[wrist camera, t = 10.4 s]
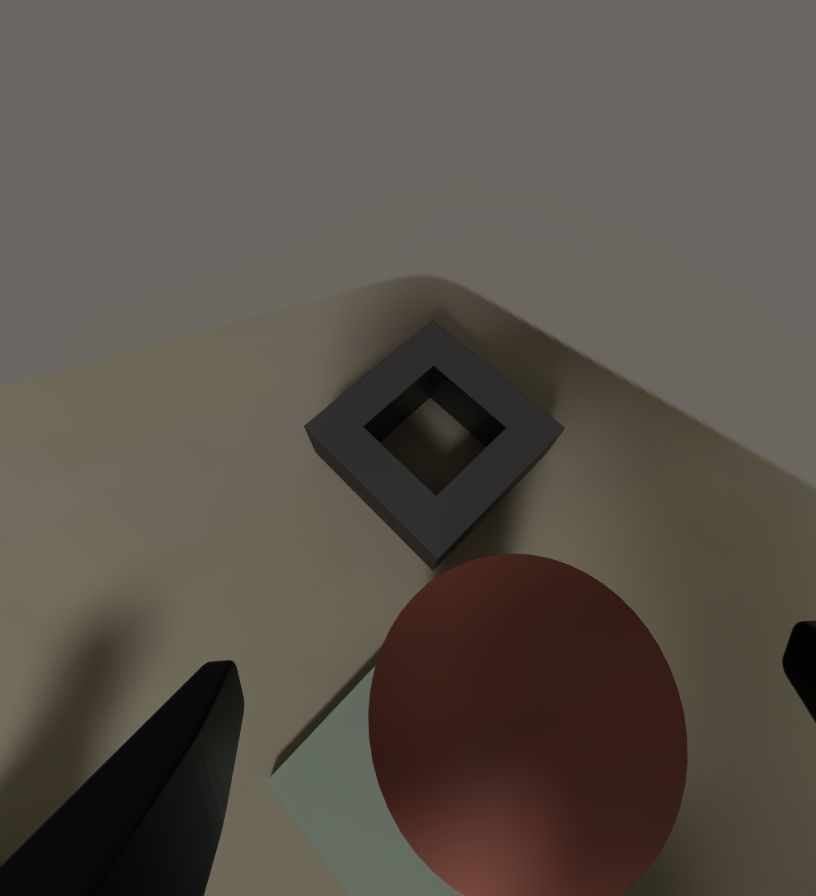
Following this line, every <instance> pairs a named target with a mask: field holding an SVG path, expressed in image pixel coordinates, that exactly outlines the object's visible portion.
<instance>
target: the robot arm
mask: <svg viewBox="0 0 816 896" xmlns="http://www.w3.org/2000/svg"><path fill="white" fill-rule="evenodd" d="M782 664H783V669H784V672H785V674H786V676H787V678H788V679H789V681H790V683H791V684H792V686H793V687H794V689H795V690H796V692H797V694H798V695H799V697H800V698H801V700H802V702H803V703H804V705H805V706H806V708H807V709H808V711H809V713H810V714H811V716H812V717H813V719H814V721H815V722H816V621H802V622H798V623H797V624H796V625H795V626H794V627H793V629H792V632H791V635H790V638H789V641H788V644H787V647H786V650H785V653H784V656H783V659H782ZM243 713H244V697H243V693H242V688H241V684H240V679H239V675H238V671H237V667H236V664H235V663H234V662H233V661H231V660H225V661H211V662H207V663H206V664H204V665H203V666H202V667H201V668H200V669H199V670H198V671H197V672H196V673H195V674H194V675H193V676H192V677H191V678H190V679H189V680H188V681H187V682H186V683H185V684H184V685H183V686H182V687H181V688H180V689H179V690H178V691H177V692H176V693H175V694H174V695H173V696H172V697H171V698H170V699H169V700H168V701H167V702H166V703H165V704H164V705H163V706H162V707H161V708H160V709H159V710H158V711H157V712H156V713H155V714H154V715H153V716H152V717H151V718H150V719H148V720H147V721H146V722H145V723H144V724H143V725H142V726H141V727H140V728H139V729H138V730H137V731H136V732H135V733H134V734H133V735H132V736H131V737H130V738H129V739H128V740H127V741H126V742H125V743H124V744H123V745H122V746H121V747H120V748H119V749H118V750H117V751H116V752H115V753H114V754H113V755H112V756H111V757H110V758H109V759H108V760H107V761H106V762H105V763H104V764H103V765H102V766H101V767H100V768H99V769H98V770H97V771H96V772H95V773H94V774H93V775H92V776H91V777H90V778H89V779H88V780H87V781H86V782H85V783H84V784H83V785H82V786H81V787H80V788H79V789H78V790H77V791H76V792H75V793H74V794H73V795H72V796H71V797H70V798H69V799H68V800H67V801H66V802H65V803H64V804H63V805H62V806H61V807H60V808H59V809H58V810H57V811H56V812H55V813H54V814H53V815H52V816H51V817H50V818H49V819H48V820H47V821H46V822H45V823H44V824H43V825H42V826H41V827H40V828H39V829H38V830H37V831H36V832H35V833H34V834H33V835H32V836H31V837H30V838H29V839H28V840H27V841H26V842H25V843H24V844H23V845H22V846H21V847H20V848H19V849H18V850H17V851H16V852H15V853H14V854H13V855H12V856H11V857H10V858H9V859H8V860H7V861H6V862H5V863H4V864H3V865H2V866H1V867H0V896H204V893H205V889H206V886H207V882H208V879H209V875H210V872H211V868H212V865H213V861H214V857H215V854H216V850H217V847H218V843H219V839H220V835H221V831H222V827H223V823H224V818H225V813H226V808H227V803H228V797H229V792H230V786H231V781H232V775H233V770H234V764H235V758H236V753H237V747H238V742H239V736H240V731H241V725H242V719H243Z"/></svg>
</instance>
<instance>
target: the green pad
mask: <svg viewBox="0 0 816 896" xmlns="http://www.w3.org/2000/svg"><path fill="white" fill-rule="evenodd" d="M374 669H375V666H374V667H373V669H372V670H371V671H370V672H369V673H368V674H367V675H366V676H365V677H364V678H363V679H362V680H361V681H360V682H359V683H358V684H357V686H356V687H355V688H354V689H353V690H352V691H351V692H350V693H349V694H348V695H347V696H346V697H345V698H344V699H343V700H342V701H341V703H340V704H339V705H338V706H337V707H336V708H335V709H334V710H333V711H332V712H331V713H330V714H329V715H328V716H327V717H326V718H325V720H324V721H323V722H322V723H321V724H320V725H319V726H318V727H317V728H316V729H315V730H314V731H313V732H312V733H311V734H310V735H309V737H308V738H307V739H306V740H305V741H304V742H303V743H302V744H301V745H300V746H299V747H298V748H297V749H296V750H295V751H294V752H293V754H292V755H291V756H290V757H289V758H288V759H287V760H286V761H285V762H284V763H283V764H282V765H281V766H280V767H279V768H278V769H277V771H276V772H275V773H274V774H273V775H272V776H271V777H270V778H269V779H268V780H267V781H266V783H267V784H268V786H269V787H270V788H271V790H272V791H273V792H274V794H275V795H276V796H277V798H278V799H279V800H280V802H281V803H282V804H283V806H284V807H285V808H286V810H287V811H288V812H289V814H290V815H291V817H292V818H293V819H294V821H295V822H296V823H297V825H298V826H299V827H300V829H301V830H302V831H303V833H304V834H305V835H306V837H307V838H308V839H309V841H310V842H311V843H312V845H313V846H314V847H315V849H316V850H317V851H318V853H319V854H320V856H321V857H322V858H323V860H324V861H325V862H326V864H327V865H328V866H329V868H330V869H331V870H332V872H333V873H334V874H335V876H336V877H337V878H338V880H339V881H340V882H341V884H342V885H343V886H344V888H345V889H346V890H347V892H348V893H349V895H350V896H465V895H463V894H462V893H460V892H458V891H457V890H455V889H453V888H452V887H451V886H449V885H448V884H447V883H446V882H445V881H443V880H442V879H441V878H440V877H439V876H437V875H436V874H435V873H434V872H433V871H432V870H431V869H430V868H429V867H428V866H427V865H426V864H425V863H424V862H423V861H422V860H421V858H420V857H419V856H418V855H417V854H416V853H415V852H414V850H413V849H412V847H411V846H410V845H409V843H408V842H407V840H406V839H405V838H404V836H403V835H402V833H401V832H400V830H399V828H398V826H397V825H396V823H395V821H394V819H393V817H392V815H391V814H390V812H389V810H388V807H387V805H386V802H385V800H384V797H383V795H382V792H381V790H380V787H379V784H378V781H377V777H376V773H375V769H374V765H373V762H372V755H371V748H370V741H369V725H368V709H369V697H370V688H371V683H372V678H373V674H374Z"/></svg>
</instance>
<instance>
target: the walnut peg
mask: <svg viewBox="0 0 816 896" xmlns="http://www.w3.org/2000/svg"><path fill="white" fill-rule="evenodd" d="M368 725H369V741H370V748H371V755H372V762H373V765H374V769H375V773H376V777H377V781H378V784H379V787H380V790H381V792H382V795H383V797H384V800H385V802H386V805H387V807H388V810H389V812H390V814H391V815H392V817H393V819H394V821H395V823H396V825H397V826H398V828H399V830H400V832H401V833H402V835H403V836H404V838H405V839H406V840H407V842H408V843H409V845H410V846H411V847H412V849H413V850H414V852H415V853H416V854H417V855H418V856H419V857H420V858H421V860H422V861H423V862H424V863H425V864H426V865H427V866H428V867H429V868H430V869H431V870H432V871H433V872H434V873H435V874H436V875H437V876H439V877H440V878H441V879H442V880H443V881H445V882H446V883H447V884H448V885H449V886H451V887H452V888H453V889H455V890H457V891H458V892H460V893H462V894H463V895H465V896H617V895H619V894H620V893H621V892H623V891H624V890H626V889H627V888H629V887H630V886H631V885H632V884H633V883H634V882H635V881H636V880H637V879H638V878H639V877H640V876H641V875H642V874H643V873H644V872H645V871H646V870H647V869H648V867H649V866H650V865H651V863H652V862H653V861H654V859H655V858H656V857H657V855H658V854H659V853H660V851H661V849H662V847H663V846H664V844H665V842H666V840H667V838H668V836H669V834H670V833H671V831H672V828H673V825H674V823H675V820H676V817H677V814H678V812H679V809H680V805H681V801H682V796H683V792H684V787H685V781H686V770H687V733H686V726H685V719H684V712H683V708H682V704H681V700H680V696H679V692H678V689H677V686H676V683H675V680H674V678H673V675H672V672H671V670H670V667H669V665H668V663H667V661H666V659H665V657H664V655H663V653H662V651H661V649H660V647H659V646H658V644H657V642H656V641H655V639H654V638H653V636H652V635H651V633H650V632H649V630H648V628H647V627H646V626H645V625H644V623H643V622H642V621H641V620H640V618H639V617H638V616H637V615H636V613H635V612H634V611H633V610H632V609H631V608H630V607H629V606H628V605H627V604H626V603H625V602H624V601H623V600H622V599H621V598H620V597H619V596H618V595H616V594H615V593H614V592H613V591H611V590H610V589H609V588H608V587H606V586H605V585H604V584H603V583H601V582H599V581H598V580H596V579H595V578H593V577H591V576H590V575H588V574H587V573H585V572H583V571H581V570H579V569H576V568H574V567H572V566H570V565H568V564H565V563H562V562H559V561H556V560H553V559H550V558H545V557H540V556H535V555H527V554H499V555H491V556H486V557H481V558H477V559H474V560H471V561H468V562H465V563H462V564H460V565H458V566H456V567H454V568H452V569H450V570H448V571H446V572H444V573H442V574H441V575H440V576H438V577H437V578H435V579H434V580H432V581H431V582H429V583H428V584H427V585H426V586H425V587H424V588H423V589H422V590H420V591H419V592H418V593H417V594H416V595H415V596H414V597H413V598H412V599H411V601H410V602H409V603H408V604H407V605H406V607H405V608H404V609H403V610H402V611H401V613H400V614H399V616H398V618H397V619H396V621H395V622H394V624H393V625H392V627H391V629H390V631H389V633H388V635H387V637H386V639H385V641H384V643H383V645H382V647H381V650H380V653H379V656H378V659H377V662H376V665H375V669H374V674H373V678H372V683H371V688H370V697H369V709H368Z"/></svg>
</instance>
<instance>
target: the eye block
mask: <svg viewBox="0 0 816 896" xmlns="http://www.w3.org/2000/svg"><path fill="white" fill-rule="evenodd" d="M430 397H431V398H432V399H433V400H434V401H435V402H436V403H437V404H439V405H440V406H441V407H442V408H443V409H444V410H445V411H447V412H448V413H449V414H450V415H451V416H452V417H453V418H455V419H456V420H457V421H458V422H459V423H460V424H461V425H462V426H464V427H465V428H466V429H467V430H468V431H469V432H470V433H472V434H473V435H474V436H475V437H476V438H477V439H478V440H480V441H481V442H482V443H483V444H484V445H485V446H486V448H485V449H484V450H483V451H482V452H481V453H480V454H479V455H478V456H477V457H476V458H475V459H474V460H473V461H472V462H471V463H470V464H469V465H468V466H467V467H466V468H465V469H464V470H463V471H462V472H461V473H460V474H458V475H457V476H456V477H455V478H454V479H453V480H452V481H451V482H450V483H449V484H448V485H447V486H446V487H445V488H444V489H443V490H442V491H441V492H440V493H439V494H438V495H437V496H435V495H434V494H433V493H432V492H431V491H430V490H429V489H428V488H427V487H426V486H425V485H424V484H423V483H422V482H421V481H420V480H419V479H418V478H417V477H415V476H414V475H413V474H412V473H411V472H410V471H409V470H408V469H407V468H406V467H405V466H404V465H403V464H402V463H401V462H400V461H399V460H398V459H397V458H395V457H394V456H393V455H392V454H391V453H390V452H389V451H388V450H387V449H386V448H385V447H384V446H383V445H382V444H381V443H380V441H381V440H382V439H383V438H385V437H386V436H387V435H388V434H389V433H390V432H391V431H392V430H394V429H395V428H396V427H397V426H398V425H399V424H400V423H401V422H403V421H404V420H405V419H406V418H407V417H408V416H409V415H410V414H412V413H413V412H414V411H415V410H416V409H417V408H418V407H419V406H421V405H422V404H423V403H424V402H425V401H426V400H427V399H428V398H430ZM304 427H305V430H306V432H307V434H308V436H309V439H310V441H311V443H312V445H313V448H314V450H315V452H316V453H317V454H318V455H319V456H320V457H321V458H322V459H323V460H324V461H325V462H326V463H327V464H328V465H329V466H330V467H331V468H332V469H333V470H334V471H335V472H336V473H337V474H338V475H339V476H340V477H341V478H342V479H343V480H344V481H345V482H346V484H347V485H348V486H349V487H350V488H351V489H352V490H353V491H354V492H355V493H356V494H357V495H358V496H359V497H360V498H361V499H362V500H363V501H364V502H365V503H366V504H367V505H368V506H369V507H370V508H371V509H372V510H373V511H374V512H375V513H376V514H377V515H378V516H379V517H380V518H381V519H382V520H383V521H384V522H385V523H386V524H387V525H388V526H389V527H390V528H391V529H392V530H393V531H394V532H395V533H396V534H397V535H398V536H399V537H400V538H401V539H402V540H403V541H404V542H405V543H406V544H407V545H408V546H409V547H410V548H411V549H412V550H413V551H414V552H415V553H416V554H417V555H418V556H419V557H420V558H421V559H422V560H423V561H424V562H425V563H426V564H427V565H428V566H429V567H430V568H431V569H432V570H434V569H435V568H436V567H437V566H438V565H439V564H440V563H441V562H442V561H443V560H444V559H445V558H446V557H447V556H448V555H449V554H450V553H451V552H452V551H453V550H454V548H455V547H456V546H457V545H458V544H459V543H460V542H461V541H462V540H463V539H464V538H465V537H466V536H467V535H468V534H469V533H470V532H471V531H472V530H473V529H474V528H475V527H476V526H477V525H478V524H479V523H480V522H481V521H482V520H483V519H484V517H485V516H486V515H487V514H488V513H489V512H490V511H491V510H492V509H493V508H494V507H495V506H496V505H497V504H498V503H499V502H500V501H501V500H502V499H503V498H504V497H505V496H506V495H507V494H508V493H509V492H510V491H511V490H512V489H513V487H514V486H515V485H516V484H517V483H518V482H519V481H520V480H521V479H522V478H523V477H524V476H525V475H526V474H527V473H528V472H529V471H530V470H531V469H532V468H533V467H534V466H535V465H536V464H537V463H538V462H539V461H540V460H541V459H542V457H543V456H544V455H545V454H546V453H547V452H548V450H549V449H550V448H551V446H552V445H553V444H554V442H555V441H556V440H557V438H558V437H559V436H560V434H561V433H562V432H563V430H564V429H565V428H564V427H563V426H562V425H561V424H559V423H558V422H557V421H556V420H555V419H553V418H552V417H551V416H550V415H548V414H547V413H546V412H545V411H544V410H542V409H541V408H540V407H539V406H537V405H536V404H535V403H534V402H533V401H531V400H530V399H529V398H528V397H526V396H525V395H524V394H523V393H522V392H520V391H519V390H518V389H517V388H515V387H514V386H513V385H512V384H511V383H509V382H508V381H507V380H506V379H504V378H503V377H502V376H501V375H500V374H498V373H497V372H496V371H495V370H493V369H492V368H491V367H490V366H489V365H487V364H486V363H485V362H484V361H482V360H481V359H480V358H479V357H478V356H476V355H475V354H474V353H473V352H471V351H470V350H469V349H468V348H467V347H465V346H464V345H463V344H462V343H460V342H459V341H458V340H457V339H456V338H454V337H453V336H452V335H451V334H449V333H448V332H447V331H446V330H445V329H443V328H442V327H441V326H440V325H438V324H437V323H436V322H435V321H433V320H432V321H431V322H429V323H428V324H427V325H426V326H425V327H423V328H422V329H421V330H420V331H419V332H417V333H416V334H415V335H414V336H412V337H411V338H410V339H409V340H408V341H406V342H405V343H404V344H403V345H402V346H400V347H399V348H398V349H397V350H396V351H394V352H393V353H392V354H391V355H389V356H388V357H387V358H386V359H385V360H383V361H382V362H381V363H380V364H379V365H377V366H376V367H375V368H374V369H373V370H371V371H370V372H369V373H368V374H366V375H365V376H364V377H363V378H362V379H360V380H359V381H358V382H357V383H356V384H354V385H353V386H352V387H351V388H349V389H348V390H347V391H346V392H345V393H343V394H342V395H341V396H340V397H339V398H337V399H336V400H335V401H334V402H333V403H331V404H330V405H329V406H328V407H326V408H325V409H324V410H323V411H322V412H320V413H319V414H318V415H317V416H316V417H314V418H313V419H312V420H311V421H310V422H308V423H307V424H306V425H305V426H304Z"/></svg>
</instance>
